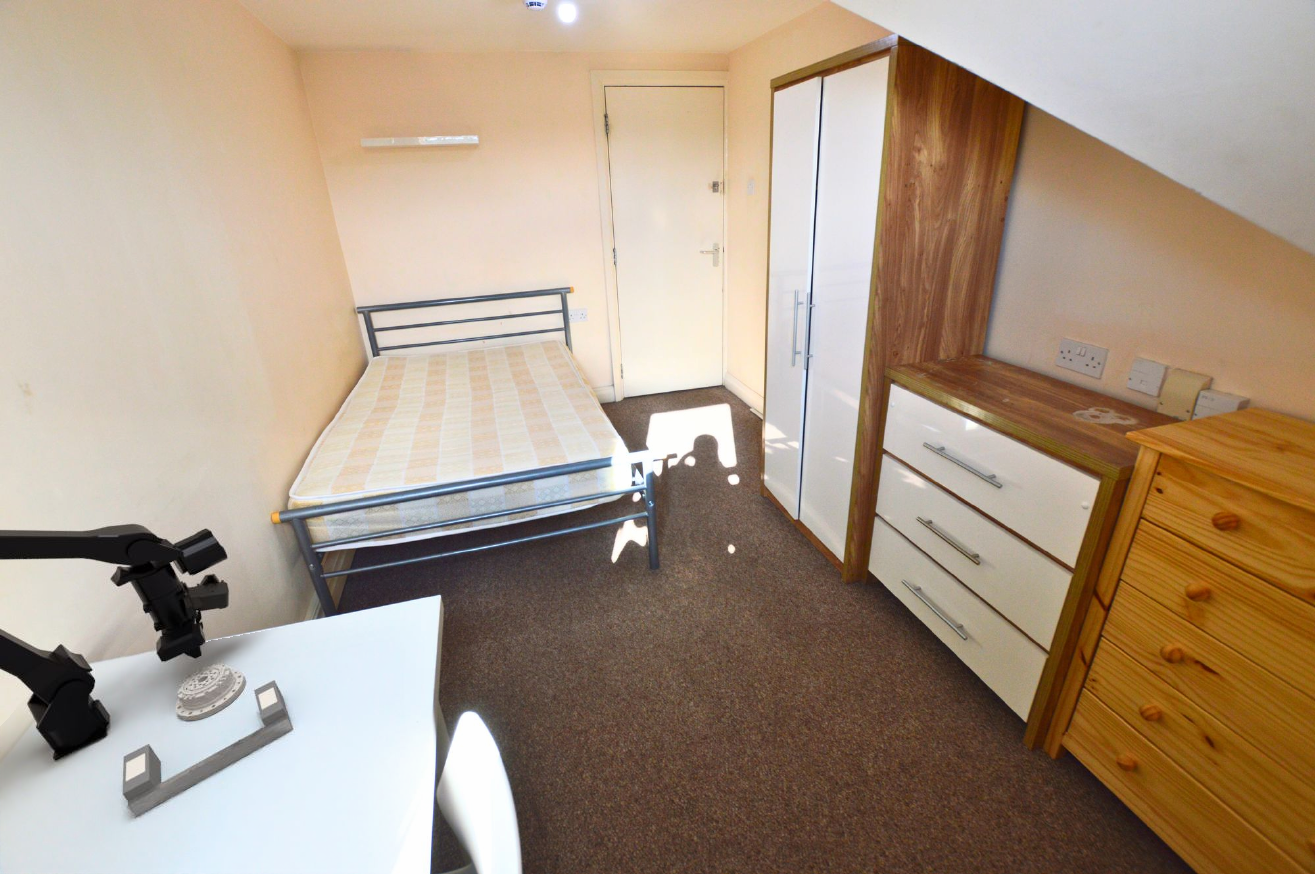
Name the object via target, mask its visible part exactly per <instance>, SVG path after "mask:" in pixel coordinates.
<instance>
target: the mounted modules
mask: <svg viewBox="0 0 1315 874" xmlns="http://www.w3.org/2000/svg"><path fill="white" fill-rule="evenodd" d="M253 691H254V692H253V693H254V694H255V695H254V696H255V699H256V703H257V707H258V711H259V715H260V719H261V721H262V723H263V725H264V727H265V726H266V725H268V724H270V723H272V722H274V721H276V720H277V719H279V718H281V717H283V716H285V715H287V717H288V719H289V721H290V723H291V724H292V721H291V719H290V716H289V712H288V709H287V706H286V702H285V699H284V696H283V694H282V692H281V690H280V688H279V686H278V684H277V683H276V680H275V679H273V680H272V681H269V682H268V683H266V684H264V685H261V686H260V687H258V688H256V689H254V690H253ZM122 762H123V768H122V795H123V797H124V799H126V801H127V802H128V801H129V800H130V799H132V798H134V797H136V796H138V795H140V794H141V793H143V792H145V791H147V790H149V789H151V788H152V787H154V786H156V785H158V784H160V783H162V768H161V767H162V765H161V760H160V759H159V757H158V755H157V754H156V752H155V751H154V749H153V748H152V747H151V745H150V744H149V743H147V744H145V745H144V746H142V747H140V748H138V749H135V750H133V751H132V752H129V753H128V754H126V755H124V756H123V761H122Z"/></svg>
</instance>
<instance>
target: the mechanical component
mask: <svg viewBox="0 0 1315 874" xmlns="http://www.w3.org/2000/svg"><path fill="white" fill-rule="evenodd" d="M246 683H247V680H246V678H245V676H244V674H243V672H242V671H240V670H238V669H235V668H234V669H230V667H229V666H228V665H227V664H225V663H221V662H220V663H219V662H218V663H217V664H215V663H213V664H211V665H210V666H207V667H204V668H203V667H201V668H199V669H198V671H197V672H195V673H193V674H191V675H187V678H186V679H183V680H182V683H179V688H178V690H177V692H176V694H177V696H178V699H177V701H176V703H175V713H176V714H177V715H178V717H179V718H180V719H181V720H184V721H198V720H202V719H206V718H208V717H210V716H212V715H214V714H216V713H219V712H221V710H224V709H225V708H226V707H228V706H229V705H231V704H232V703H233V702H234V701H235V700H236V699H237V698H238V697H239V696H240V695H241V693H242V692H243V690H244V688H245V687H246Z"/></svg>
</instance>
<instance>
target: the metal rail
mask: <svg viewBox="0 0 1315 874" xmlns="http://www.w3.org/2000/svg"><path fill="white" fill-rule="evenodd" d="M290 721H291V720H290ZM290 721H289V719H288V717H287V715H285V716H283V717H281V718H279V719H277V720H276V721H274V722H272V723H270V724H268V725H266V726H265V725H264V726H263V727H261V728H259V729H258V730H256V731H254V732H252V733H250V734H248V735H246V736H244V737H242V738H241V739H239V740H237V741H235V742H234V743H231V744H230V745H228V746H226V747H225V748H222V749H220V750H219V751H217V752H215V753H213V754H211V755H210V756H208V757H205V758H204V759H203V760H201V761H198V762H197V763H195V764H193V765H191V766H190V767H188V768H186V769H184V770H182V771H180V772H178V773H176V774H175V775H173V776H171V777H169V778H167V779H165V780H163V781H161V783H160V784H158V785H156V786H154V787H152V788H151V789H149V790H147V791H145V792H143V793H141V794H140V795H138V796H136V797H134V798H132V799H130V800H129V801H127V808H128V809H129V810H130V811H131V813H132V814H133V816H134V817H135V818H137V817H139V816H141V815H143V814H145V813H146V812H148V811H150V810H151V809H153V808H155V807H157V806H159V805H160V804H163V803H165V802H166V801H168V800H169V799H171V798H173V797H174V796H176V795H177V796H178V794H180V793H183V792H184V791H186V790H187V789H189V788H191V787H193V786H194V785H197V784H198V783H200V782H201V781H203V780H205V779H207V778H209V777H211V776H212V775H214V774H216V773H218V772H220V771H221V770H223V769H225V768H226V767H228V766H230V765H232V764H234V763H236V762H237V761H240V759H243V758H245V757H247V756H248V755H249V754H251V753H254V752H255V751H257V750H259V749H261V748H262V747H265V746H266V745H268V744H269V743H272V742H273V741H275V740H277V739H278V738H280V737H281V736H282V737H283V736H284V735H285V734H287V733H289V732H290V731H293V730H294V729H293V725H292V722H291V723H290Z"/></svg>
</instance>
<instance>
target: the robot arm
mask: <svg viewBox="0 0 1315 874" xmlns="http://www.w3.org/2000/svg"><path fill="white" fill-rule="evenodd" d="M228 558H229V557H228V554H227V552H226V550H225V548H224V546H222V545H221V543H220V542H219V541H218V540H217V538H216V537H215V536H214V534H213V532H212V531H211V530H210V529H208V528H204V529H201V530H199V531H197V532H196V533H195V534H192V535H190V536H188V537H186V538H183V539H182V540H179V541H177V542H174V543H172V542H171V541H169V540H168V539H166V538H162V537H158V536H157V534H155V533H154V532H152V531H151V530H150V529H148V528H147V527H146V526H144V525H141V524H138V523H137V524H136V523H127V524H118V525H109V526H108V525H107V526H104V527H100V528H99V527H98V528H96V529H95V528H94V529H89V530H37V529H36V530H32V529H31V530H30V529H27V530H26V529H25V530H23V529H0V560H1V561H2V560H4V561H5V560H7V561H8V560H9V561H11V560H58V559H60V560H65V559H68V560H69V559H72V560H74V559H77V560H78V559H80V560H81V559H82V560H83V559H84V560H92V561H97V562H102V563H106V564H113V565H118V566H117V567H116V569H115V570H116V571H115V572H114V573H113V574H112V576H110V581H111V582H112V583H113V584H114V585H115V586H117V587H122V586H124V585H126V584H128V583H130V584H131V586H132V587H133V589H134V590H135V593H136V594H137V596H138V598H139V600H140V601H141V602H142V610H143V612H144V614H146V615H147V614H149V616H150V618H151V619H152V621H153V628H154V630H155V632H156V633H158V632H160V633H161V636H159V638H158V639H157V642H156V643H155V645H156V651H155V652H156V655H157V656H158V658H159V660H160V662H163V663H165V662H168V661H170V660H173V659H174V658H177V657H179V656H182V655H185V656H188V657H191V658H193V659H198V658H200V657H202V648H201V647H202V646H203V645H204V644H205V643H206V636H205V632H204V623H203V621H201V620H202V617H203V616H202V612H205V611H206V612H207V611H210V610H217V609H218V610H223V609H226V608H228V607H229V599H230V598H229V597H230V596H229V595H230V590H229V585H228V583H227V582H226V581H224V580H222V579H221V580H220V579H219V578H218V576H217V575H216V574H215V573H210V574H205V575H204V576H203V578H202V579H201V581H200V583H196V585H195V586H188V584H187V583H186V582H184V581H183V580H180V578H179V577H178V575H177V573H176V571H175V570H174V567H173V565H172V564H171V563H173V564H174V566H175V567H176V570H178V572H179V573H180V574H181V575H185V574H187V573H188V576H192V577H193V576H195V575H197V574H199V573H201V572H204V571H206V570H207V569H210V568H211V567H213V566H216V565H218V564H219V563H222V562H224V561H226V560H228ZM120 565H121V566H120ZM0 670H2V671H3V672H5V673H8V674H10V675H12V676H14V677H16V678H17V679H18V680H20V682H21V683H23V684H24V685H25V686H26V687H27V688H28V689H29V690H30V691H31V692H32V693H31V696H30V697H29V699H28V701H27V703H26V705H27V707H28V709H29V711H30V713H31V715H32V717H33V719H34V720H35V723H36V725H35V729H36V730H37V732H38V733H40V735H41V737H42V738H43V739H44V740H45V741H46V742H47V744H48V745H49V747H50V748H51V749H52V750H53V754H52V755H53V756H52V759H53V760H54V761H58V760H60V759H62V758H65V757H66V756H69V755H71V754H73V753H76V752H77V751H79V750H81V749H83V748H86V747H87V746H89V745H91V744H93V743H94V744H95V742H99V741H100V740H102V739H104V738H106V737H107V735H108V727H109V725H110V717H111V714H109V712H108V710H107V709H106V707H105V706H104V705H103V704H102V702H101V701H100V699H99V698H98V699H94V698H93V697H92V696H91V694H92V693H93V690H94V689H95V684H96V679H95V677H94V675H93V674H92V673H91V672H92V671H93V668H92V667H91V665H90V663H88V661H87V660H86V658H85V657H84V655H83V654H81V653H74V652H72V651H70V650H69V649H68V648H66V647H65V645H63V644H62V643H61V644H59V645H58V646H57V647H56V648H55V649H54V650H53V651H52V650H44V649H39V648H37V647H35V646H33V645H32V644H29V643H27V642H26V641H24V640H23V639H20V638H18V637H17V636H15V635H13V634H11V633H9V632H8V631H5V630H4V629H2V628H0Z"/></svg>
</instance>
